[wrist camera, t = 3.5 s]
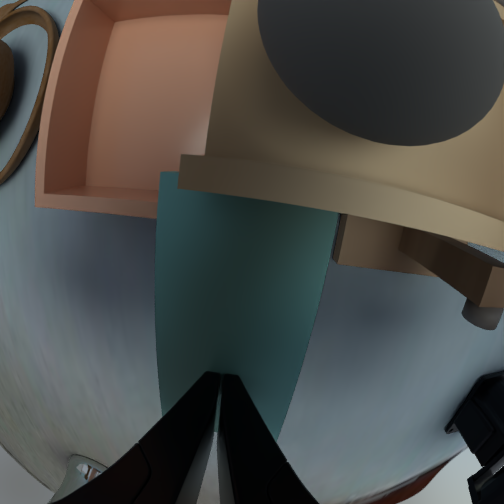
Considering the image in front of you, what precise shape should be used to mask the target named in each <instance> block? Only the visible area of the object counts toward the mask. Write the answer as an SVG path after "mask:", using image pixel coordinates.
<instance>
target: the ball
mask: <svg viewBox="0 0 504 504" xmlns="http://www.w3.org/2000/svg"><path fill="white" fill-rule="evenodd" d="M257 16H258V25H259V31H260V35H261V39H262V42H263V46H264V48H265V51H266V53H267V56H268V58H269V60H270V62H271V64H272V66H273V67H274V69H275V70H276V72H277V74H278V75H279V77H280V78H281V80H282V81H283V82H284V84H285V85H286V86H287V88H288V89H289V90H290V91H291V92H292V93H293V94H294V95H295V96H296V97H297V98H298V99H299V100H300V101H301V102H302V103H303V104H304V105H305V106H307V107H308V108H309V109H310V110H311V111H312V112H314V113H315V114H317V115H318V116H319V117H321V118H322V119H324V120H325V121H327V122H328V123H330V124H332V125H334V126H335V127H337V128H339V129H341V130H343V131H345V132H348V133H350V134H352V135H355V136H358V137H361V138H364V139H367V140H370V141H373V142H377V143H382V144H387V145H397V146H424V145H429V144H434V143H439V142H444V141H446V140H449V139H452V138H454V137H457V136H459V135H461V134H462V133H464V132H466V131H468V130H470V129H471V128H472V127H473V126H475V125H476V124H477V123H478V122H480V121H481V120H482V119H483V118H484V117H485V116H486V114H487V113H488V112H489V111H490V110H491V109H492V107H493V106H494V104H495V102H496V101H497V99H498V97H499V95H500V93H501V90H502V88H503V85H504V26H503V23H502V20H501V17H500V14H499V12H498V10H497V8H496V6H495V4H494V2H493V0H258V7H257Z"/></svg>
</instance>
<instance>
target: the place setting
mask: <svg viewBox="0 0 504 504" xmlns="http://www.w3.org/2000/svg"><path fill="white" fill-rule="evenodd" d="M25 1H27V0H19V1H17V2H15V3H13V4H7V5H4V6H2V7H1V8H0V120H1V119H2V117H3V116H4V114H5V112H6V110H7V108H8V106H9V104H10V101H11V98H12V94H13V89H14V58H13V54H12V51H11V49H10V47H9V46H8V45H7V44H6V43H5V42H3V41H2V40H1V39H2V38H3V37H4V36H5V35H7V34H8V33H9V32H11V31H12V30H14V29H16V28H18V27H20V26H23V25H27V24H36V25H39V26H41V27H43V28H44V29H45V30H46V32H47V33H48V50H47V58H46V64H45V69H44V74H43V78H42V82H41V86H40V89H39V92H38V96H37V99H36V102H35V105H34V108H33V110H32V113H31V116H30V119H29V121H28V123H27V126H26V128H25V131H24V133H23V135H22V137H21V139H20V142H19V144H18V146H17V147H16V149H15V151H14V153H13V155H12V157H11V158H10V160H9V161H8V163H7V165H6V166H5V167H4V169H3V170H2V171H1V172H0V184H2V183H3V182H4V181H5V180H6V179H7V178H8V177H9V176H10V175H11V174H12V173H13V172H14V170H15V169H16V168H17V167H18V165H19V164H20V162H21V161H22V159H23V158H24V156H25V155H26V153H27V151H28V150H29V148H30V146H31V144H32V142H33V140H34V138H35V136H36V134H37V132H38V130H39V128H40V122H41V115H42V109H43V103H44V98H45V93H46V88H47V84H48V79H49V75H50V71H51V67H52V63H53V60H54V56H55V53H56V49H57V46H58V43H59V35H58V30H57V27H56V24H55V22H54V20H53V19H52V17H51V16H50V15H49V14H48V13H47V12H46V11H45V10H43V9H42V8H39V7H37V6H25V7H21V8H18V9H16V10H14V9H15V8H16V7H17V6H19V5H20V4H22V3H23V2H25ZM13 10H14V11H13Z"/></svg>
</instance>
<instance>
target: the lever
mask: <svg viewBox="0 0 504 504" xmlns="http://www.w3.org/2000/svg"><path fill="white" fill-rule="evenodd" d="M493 2H494V4H495V6H496V8H497V10H498V12H499V14H500V17H501V20H502V23H503V26H504V7H503V6H501V5H500V4H498V3H497V2H496V1H494V0H493ZM257 7H258V0H232V1H231V6H230V10H229V15H228V19H227V24H226V29H225V33H224V38H223V43H222V48H221V53H220V59H219V64H218V70H217V75H216V81H215V87H214V93H213V99H212V105H211V112H210V119H209V125H208V132H207V140H206V147H205V155H204V156H201V155H188V154H181V159H180V167H179V172H178V171H164V172H160V182H159V193H158V206H157V223H156V244H155V328H156V350H157V366H158V379H159V390H160V400H161V409H162V417H163V416H164V415H165V414H166V413H167V412H168V411H169V410H170V408H171V407H172V406H173V405H174V404H175V403H176V402H177V401H178V400H179V399H180V398H181V397H182V396H183V395H184V394H185V393H186V392H187V391H188V390H189V388H190V387H191V386H192V385H193V384H194V383H195V382H196V381H197V380H198V379H199V378H200V377H201V376H202V374H203V373H204V372H206V371H212V372H218V373H220V383H219V393H218V402H217V411H216V419H215V428H214V432H218V424H219V414H220V404H221V395H222V387H223V378H224V374H226V373H227V374H236V375H239V376H240V378H241V380H242V382H243V384H244V386H245V388H246V389H247V391H248V393H249V395H250V397H251V399H252V400H253V402H254V404H255V406H256V408H257V410H258V411H259V413H260V415H261V417H262V418H263V420H264V422H265V424H266V425H267V427H268V429H269V431H270V432H271V434H272V436H273V437H274V439H275V441H276V442H277V439H278V436H279V433H280V431H281V428H282V425H283V422H284V419H285V417H286V414H287V411H288V408H289V405H290V402H291V399H292V396H293V393H294V390H295V386H296V383H297V380H298V377H299V374H300V370H301V367H302V364H303V360H304V357H305V354H306V350H307V347H308V343H309V340H310V336H311V332H312V329H313V325H314V321H315V317H316V313H317V310H318V306H319V302H320V298H321V294H322V289H323V285H324V281H325V277H326V272H327V268H328V263H329V259H330V254H331V250H332V245H333V240H334V235H335V230H336V225H337V219H338V214H339V213H344V214H349V215H354V216H359V217H364V218H369V219H374V220H379V221H383V222H388V223H393V224H397V225H402V226H406V227H411V228H415V229H419V230H423V231H428V232H432V233H436V234H440V235H444V236H448V237H452V238H456V239H460V240H463V241H467V242H471V243H475V244H478V245H482V246H485V247H489V248H492V249H496V250H499V251H503V252H504V85H503V88H502V90H501V93H500V95H499V97H498V99H497V101H496V102H495V104H494V106H493V107H492V109H491V110H490V111H489V112H488V113H487V114H486V116H485V117H484V118H483V119H482V120H481V121H480V122H478V123H477V124H476V125H475V126H473V127H472V128H471V129H470V130H468V131H466V132H464V133H462V134H461V135H459V136H457V137H454V138H452V139H449V140H446V141H444V142H439V143H434V144H429V145H424V146H397V145H387V144H382V143H377V142H373V141H370V140H367V139H364V138H361V137H358V136H355V135H352V134H350V133H348V132H345V131H343V130H341V129H339V128H337V127H335V126H334V125H332V124H330V123H328V122H327V121H325V120H324V119H322V118H321V117H319V116H318V115H317V114H315V113H314V112H312V111H311V110H310V109H309V108H308V107H307V106H305V105H304V104H303V103H302V102H301V101H300V100H299V99H298V98H297V97H296V96H295V95H294V94H293V93H292V92H291V91H290V90H289V89H288V88H287V86H286V85H285V84H284V82H283V81H282V80H281V78H280V77H279V75H278V74H277V72H276V70H275V69H274V67H273V66H272V64H271V62H270V60H269V58H268V56H267V53H266V51H265V48H264V46H263V42H262V39H261V35H260V31H259V25H258V16H257Z"/></svg>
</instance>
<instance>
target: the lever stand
mask: <svg viewBox="0 0 504 504" xmlns="http://www.w3.org/2000/svg"><path fill="white" fill-rule="evenodd" d="M494 1H496V2H497V3H498V4H500V5H501V6H503V7H504V0H494ZM467 244H468V242H467V241H463V240H460V239H456V238H452V237H448V236H444V235H440V234H436V233H432V232H428V231H423V230H419V229H415V228H411V227H406V226H402V225H397V224H393V223H388V222H383V221H379V220H374V219H369V218H364V217H359V216H354V215H349V214H344V213H342V214H341V219H340V224H339V230H338V235H337V240H336V244H335V249H334V254H333V259H334V260H335V262H336V263H337V264H340V265H348V266H356V267H364V268H371V269H379V270H387V271H395V272H403V273H411V274H418V275H426V276H434V277H439V278H441V279H442V280H444V281H445V282H446V283H448V284H449V285H450V286H452V287H453V288H455V289H456V290H457V291H459V292H460V293H461V294H463V295H464V296H465V297H467V300H466V302H465V305H464V308H463V310H462V315H463V317H464V318H465V319H466V320H467V321H469V322H470V323H472V324H473V325H475V326H477V327H480V328H482V329H486V330H495V329H496V327H497V325H498V322H499V320H500V318H501V315H502V313H503V310H504V309H503V308H504V263H502V262H500V261H499V260H497V259H495V258H493V257H491V256H489V255H487V254H485V253H483V252H481V251H479V250H477V249H475V248H473V247H470V246H468V245H467Z"/></svg>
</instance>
